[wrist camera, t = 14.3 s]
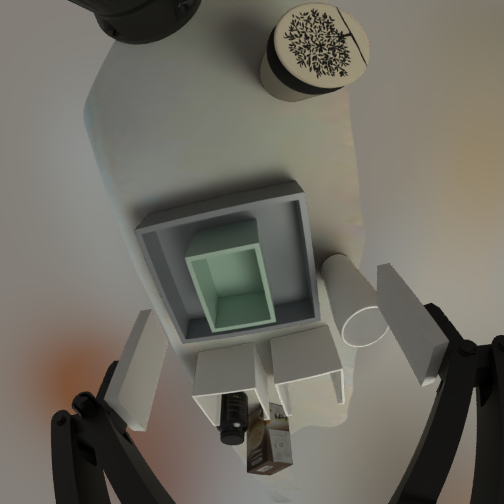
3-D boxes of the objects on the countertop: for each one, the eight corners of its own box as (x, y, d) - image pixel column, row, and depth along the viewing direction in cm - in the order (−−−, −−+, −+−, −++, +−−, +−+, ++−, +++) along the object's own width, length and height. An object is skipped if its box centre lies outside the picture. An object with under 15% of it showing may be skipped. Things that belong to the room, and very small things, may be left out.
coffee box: (264, 400, 61) (268, 460, 47) (287, 406, 63) (294, 463, 48) (245, 418, 65) (246, 473, 50) (267, 423, 66) (270, 476, 52)
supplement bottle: (243, 406, 62) (243, 449, 51) (214, 401, 61) (211, 444, 50) (252, 391, 59) (253, 436, 49) (222, 385, 58) (219, 431, 48)
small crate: (194, 232, 42) (184, 257, 34) (256, 219, 41) (258, 242, 34) (216, 299, 47) (212, 332, 40) (271, 289, 46) (276, 321, 39)
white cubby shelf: (328, 324, 51) (342, 368, 42) (332, 361, 56) (344, 403, 46) (198, 351, 54) (191, 396, 44) (217, 384, 58) (214, 426, 49)
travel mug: (269, 108, 35) (289, 100, 19) (251, 55, 32) (256, 8, 15) (326, 95, 34) (385, 83, 18) (308, 42, 31) (354, -4, 15)
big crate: (147, 214, 41) (134, 230, 36) (296, 181, 40) (304, 192, 34) (188, 320, 50) (182, 343, 44) (313, 297, 48) (320, 320, 43)
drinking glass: (306, 270, 46) (329, 334, 32) (336, 240, 44) (372, 295, 30) (334, 292, 48) (361, 355, 34) (363, 264, 46) (401, 321, 32)
